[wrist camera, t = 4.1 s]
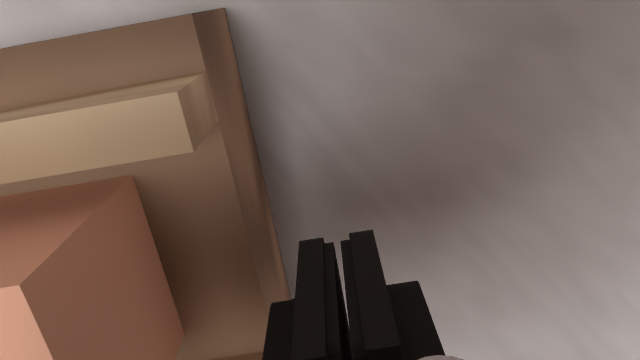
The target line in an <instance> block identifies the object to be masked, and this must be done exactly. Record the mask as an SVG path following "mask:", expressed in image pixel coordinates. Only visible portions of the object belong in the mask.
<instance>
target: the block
mask: <svg viewBox="0 0 640 360" xmlns="http://www.w3.org/2000/svg"><path fill="white" fill-rule="evenodd" d="M184 335H185V334H184V331H183V327H182V324H181V321H180V318H179V315H178V312H177V309H176V306H175V303H174V300H173V297H172V294H171V291H170V288H169V285H168V282H167V279H166V276H165V273H164V270H163V267H162V264H161V261H160V258H159V255H158V252H157V249H156V246H155V243H154V240H153V237H152V234H151V231H150V228H149V224H148V221H147V218H146V215H145V212H144V209H143V206H142V203H141V200H140V197H139V194H138V191H137V188H136V185H135V182H134V179H133V176H132V175H128V176H122V177H116V178H110V179H104V180H98V181H92V182H85V183H79V184H73V185H67V186H61V187H55V188H49V189H43V190H37V191H31V192H25V193H19V194H13V195H6V196H0V360H175V358H176V355H177V353H178V350H179V348H180V345H181V343H182V340H183V338H184Z"/></svg>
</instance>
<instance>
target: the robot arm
mask: <svg viewBox="0 0 640 360" xmlns="http://www.w3.org/2000/svg"><path fill="white" fill-rule="evenodd" d="M349 237H350V240H344V241H341V250H342V260H343V270H344V280H345V290H346V300H347V310H348V319H347V314H346V308H345V303H344V297H343V292H342V286H341V281H340V275H339V270H338V264H337V259H336V253H335V248H334V243H333V242H332V243H324V239H323V238H317V239H310V240H304V241H299V252H298V265H297V279H296V293H295V299H292V300H286V301H279V302H273V303H271V306H270V311H269V317H268V324H267V331H266V337H265V344H264V350H263V357H262V360H463V359H460V358H457V357H453V356H445V353H444V351H443V348H442V345H441V342H440V339H439V337H438V334H437V331H436V328H435V326H434V323H433V320H432V317H431V315H430V312H429V309H428V306H427V304H426V301H425V298H424V295H423V293H422V290H421V287H420V285H419V282H418V281H411V282H405V283H398V284H392V285H386V283H385V279H384V274H383V270H382V266H381V262H380V258H379V254H378V250H377V246H376V242H375V238H374V234H373V230H367V231H361V232H355V233H349ZM348 320H349V325H348Z"/></svg>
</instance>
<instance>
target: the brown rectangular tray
mask: <svg viewBox="0 0 640 360" xmlns="http://www.w3.org/2000/svg"><path fill="white" fill-rule="evenodd" d="M128 175H132V176H133V179H134V182H135V185H136V188H137V191H138V194H139V197H140V200H141V203H142V206H143V209H144V212H145V215H146V218H147V221H148V224H149V228H150V231H151V234H152V237H153V240H154V243H155V246H156V249H157V252H158V255H159V258H160V261H161V264H162V267H163V270H164V273H165V276H166V279H167V282H168V285H169V288H170V291H171V294H172V297H173V300H174V303H175V306H176V309H177V312H178V315H179V318H180V321H181V324H182V327H183V331H184V334H185V335H184V338H183V340H182V343H181V345H180V348H179V350H178V353H177V355H176V358H175V360H262V357H263V350H264V344H265V337H266V331H267V324H268V317H269V311H270V306H271V303H273V302H279V301H286V300H291V298H290V294H289V290H288V285H287V281H286V277H285V272H284V268H283V263H282V259H281V255H280V250H279V246H278V241H277V237H276V233H275V228H274V224H273V220H272V215H271V211H270V206H269V202H268V198H267V193H266V189H265V185H264V180H263V176H262V171H261V167H260V163H259V158H258V154H257V150H256V145H255V141H254V136H253V132H252V128H251V123H250V119H249V115H248V110H247V106H246V101H245V97H244V93H243V88H242V84H241V80H240V75H239V71H238V66H237V62H236V58H235V53H234V49H233V45H232V40H231V36H230V31H229V27H228V23H227V18H226V14H225V10H224V8H220V9H215V10H209V11H203V12H198V13H192V14H187V15H181V16H176V17H171V18H165V19H160V20H154V21H149V22H143V23H138V24H133V25H127V26H122V27H116V28H111V29H105V30H100V31H95V32H89V33H84V34H78V35H73V36H67V37H62V38H57V39H51V40H46V41H40V42H35V43H29V44H24V45H19V46H13V47H8V48H2V49H0V196H6V195H13V194H19V193H25V192H31V191H37V190H43V189H49V188H55V187H61V186H67V185H73V184H79V183H85V182H92V181H98V180H104V179H110V178H116V177H122V176H128Z"/></svg>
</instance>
